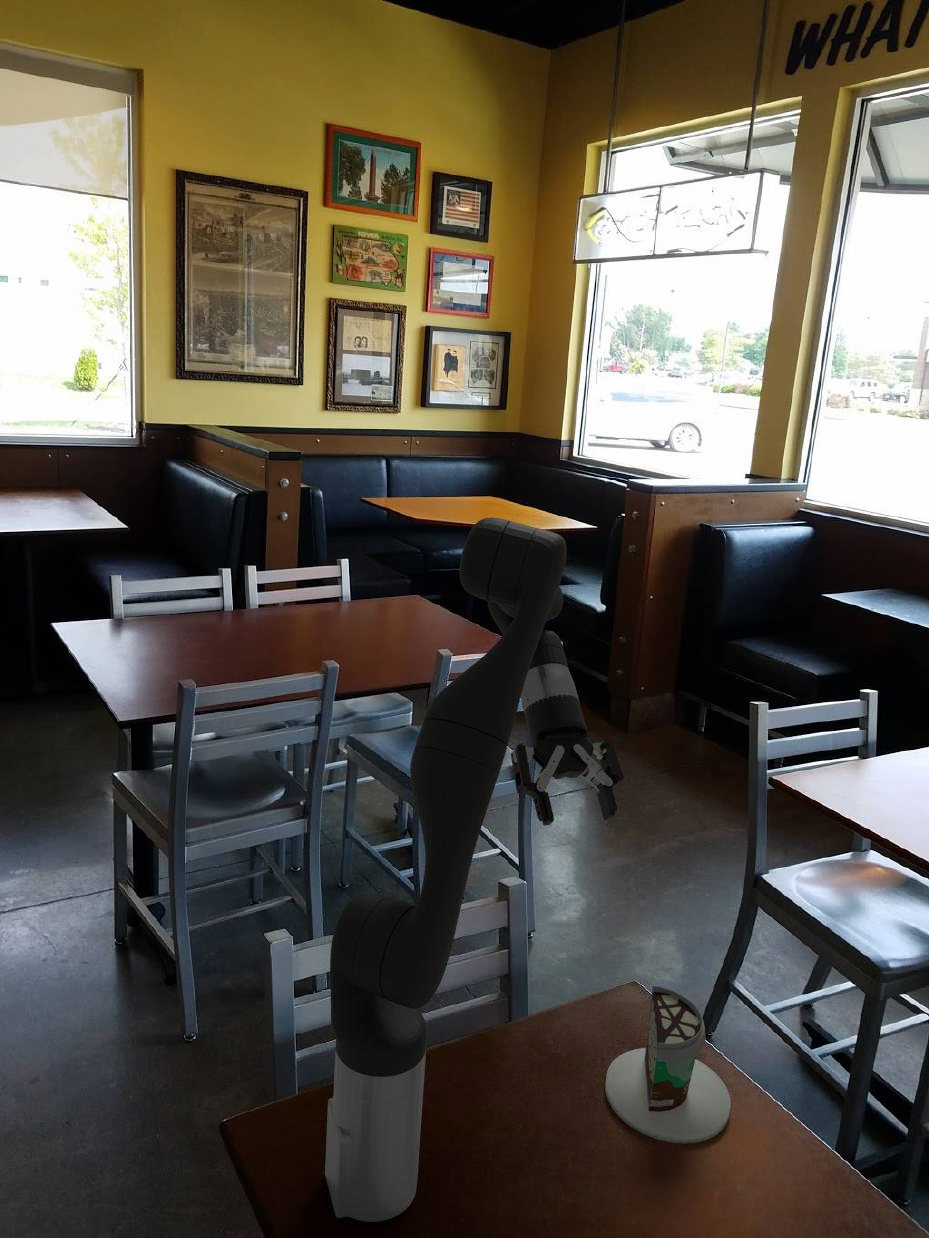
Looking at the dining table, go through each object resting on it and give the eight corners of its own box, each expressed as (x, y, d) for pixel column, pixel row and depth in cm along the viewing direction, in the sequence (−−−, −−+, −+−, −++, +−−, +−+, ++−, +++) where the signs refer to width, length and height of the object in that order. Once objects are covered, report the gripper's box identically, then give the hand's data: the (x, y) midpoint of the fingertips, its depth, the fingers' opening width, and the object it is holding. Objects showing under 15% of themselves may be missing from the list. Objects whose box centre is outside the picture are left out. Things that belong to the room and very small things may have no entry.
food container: (702, 1128, 113) (713, 1053, 111) (649, 1119, 114) (659, 1045, 111) (692, 1057, 125) (702, 989, 123) (643, 1050, 126) (652, 982, 123)
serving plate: (642, 1154, 110) (644, 1145, 110) (584, 1066, 124) (585, 1058, 123) (754, 1129, 115) (755, 1120, 115) (686, 1047, 129) (687, 1039, 128)
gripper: (510, 694, 125) (538, 815, 117) (609, 690, 130) (642, 805, 122) (493, 719, 131) (518, 835, 124) (588, 714, 136) (618, 826, 128)
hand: (580, 820), depth 123 cm, fingers open, 8 cm apart
